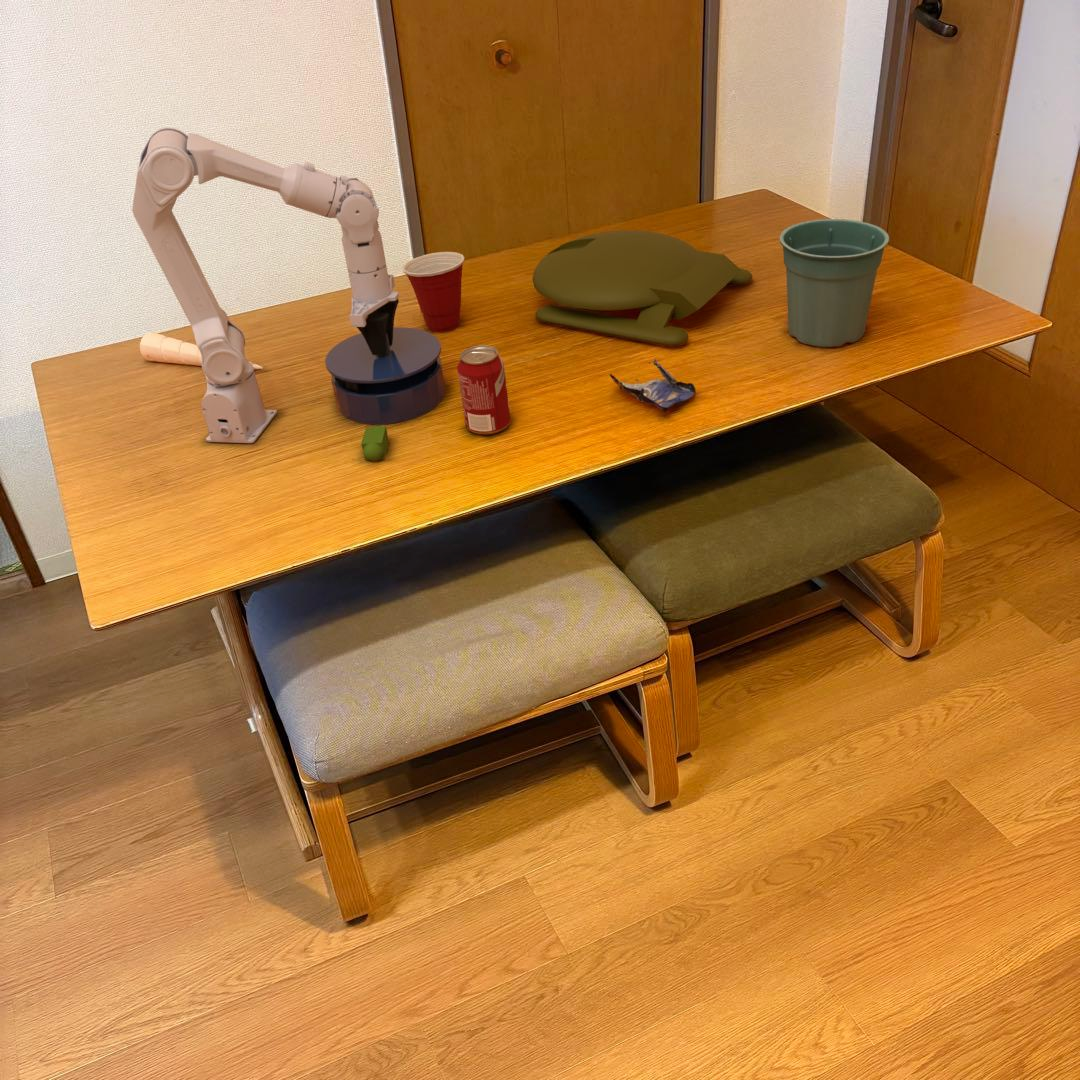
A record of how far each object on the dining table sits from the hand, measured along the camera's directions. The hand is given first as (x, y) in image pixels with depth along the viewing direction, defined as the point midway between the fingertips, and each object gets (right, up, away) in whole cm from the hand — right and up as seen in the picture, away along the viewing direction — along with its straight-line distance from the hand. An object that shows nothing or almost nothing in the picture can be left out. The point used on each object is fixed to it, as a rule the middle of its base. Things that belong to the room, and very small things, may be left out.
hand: (382, 349), depth 168 cm
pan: (+1, -7, +5) cm, 8 cm away
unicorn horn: (-34, +1, +21) cm, 40 cm away
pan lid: (0, -1, +1) cm, 1 cm away
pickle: (0, -16, -8) cm, 18 cm away
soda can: (+17, -13, -5) cm, 22 cm away
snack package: (+42, -8, -3) cm, 43 cm away
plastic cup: (+7, +9, +25) cm, 27 cm away
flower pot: (+71, +4, +10) cm, 72 cm away
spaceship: (+41, +13, +27) cm, 50 cm away
